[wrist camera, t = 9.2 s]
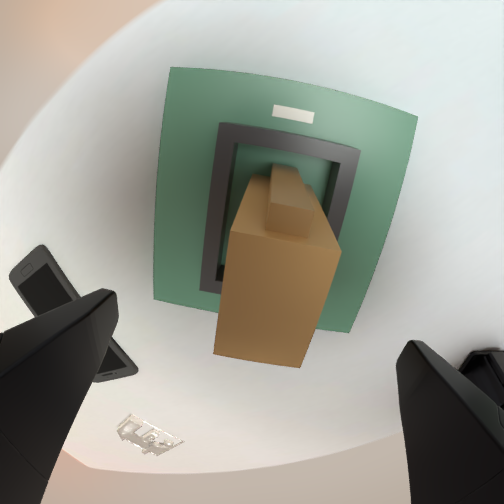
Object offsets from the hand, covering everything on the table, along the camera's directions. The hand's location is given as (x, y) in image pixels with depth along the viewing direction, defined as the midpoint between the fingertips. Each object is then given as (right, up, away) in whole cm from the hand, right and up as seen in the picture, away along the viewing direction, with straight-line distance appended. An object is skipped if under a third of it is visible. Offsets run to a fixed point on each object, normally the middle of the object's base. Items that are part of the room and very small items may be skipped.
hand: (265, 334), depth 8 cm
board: (+1, +5, +9) cm, 10 cm away
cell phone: (-16, -4, +15) cm, 23 cm away
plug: (+1, +4, +8) cm, 9 cm away
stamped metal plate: (-13, -20, +23) cm, 33 cm away
